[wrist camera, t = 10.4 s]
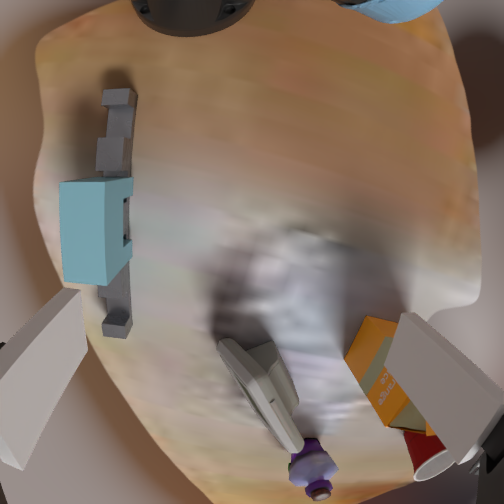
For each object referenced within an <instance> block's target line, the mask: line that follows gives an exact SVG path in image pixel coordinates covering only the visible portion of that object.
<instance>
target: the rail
mask: <svg viewBox="0 0 504 504" xmlns="http://www.w3.org/2000/svg"><path fill="white" fill-rule="evenodd" d="M137 99H138V95H137V94H136V93H135V92H134V91H132V90H131V89H130V88H124V89H107V90H103V96H102V103H101V106H104V107H106V108H108V109H109V113H108V122H107V132H106V137H105V138H98V140H97V152H96V168H95V171H104V173H103V177H130V174H131V158H132V146H133V134H134V124H135V115H136V107H137ZM123 239H129V197H127V198H124V199H123ZM97 286H98V297H105V298H106V302H107V312H108V315H107V316H106V318H105V319H104V321H103V322H102V331H103V336H106V337H114V338H122V339H126V338H127V336H128V334H129V332H130V330H131V327H132V325H133V323H132V310H131V294H130V273H129V261H128V262H127V263H126V264H125V266H124V267H123V268H122V269H121V270H120V271H119V272H118V274H117V275H116V276H115V277H114V278H113V279H112V281H111V282H110V283H109V284H108V285H107V286H102V285H97Z"/></svg>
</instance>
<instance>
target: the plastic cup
mask: <svg viewBox="0 0 504 504" xmlns="http://www.w3.org/2000/svg"><path fill="white" fill-rule="evenodd" d="M404 438H405V441H406V444H407V447H408V451H409V454H410V457H411V460H412V463H413V466H414V480H416V481H423V480H427V479H429V478H432V477H434V476H436V475H438V474H440V473H441V472H443V471H444V470H445V469H447V468H448V467H450V466H451V465H452V464H453V463H454V462H455V460H454V458H453V457H452V456H451V454H450V453H449V451H448V450H447V449H446V447H445V446H444V444H443V443H442V442H441V440H440V439H439V438H438V436H437V435H431V436H426V434H421V433H416V432H410V431H405V433H404Z"/></svg>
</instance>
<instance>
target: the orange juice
mask: <svg viewBox="0 0 504 504" xmlns="http://www.w3.org/2000/svg"><path fill="white" fill-rule="evenodd" d="M397 326H398V323H396V322H392V321H388V320H383V319H379V318H375V317H371V316H366V317H365V319H364V321H363V323H362V325H361V327H360V329H359V331H358V333H357V335H356V337H355V339H354V341H353V343H352V345H351V347H350V349H349V351H348V353H347V355H346V356H345V358H344V360H345V362H346V363H347V365H348V367H349V368H350V370H351V372H352V373H353V375H354V376H355V378H356V380H357V381H358V383H359V385H360V387H361V389H362V390H363V392H364V393H365V395H366V396H367V398H368V399H369V401H370V402H371V404H372V406H373V407H374V409H375V411H376V412H377V414H378V416H379V417H380V419H381V421H382V422H383V424H384V426H385V427H391V428H396V429H401V430H405V431H410V432H416V433H421V434H426V436H431V435H436V433H435V432H434V431H433V429H432V428H431V427H430V425H429V424H428V423H427V421H426V420H425V419H424V417H423V416H422V415H421V413H420V412H419V410H418V409H417V408H416V406H415V405H414V404H413V402H412V401H411V400H410V399H409V397H408V396H407V395H406V393H405V392H404V391H403V389H402V388H401V387H400V385H399V384H398V383H397V381H396V380H395V379H394V378H393V376H392V375H391V374H390V372H389V371H388V370H387V368H386V367H385V366H384V363H385V360H386V358H387V355H388V352H389V349H390V347H391V344H392V341H393V338H394V335H395V332H396V329H397Z"/></svg>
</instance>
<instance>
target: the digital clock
mask: <svg viewBox="0 0 504 504" xmlns="http://www.w3.org/2000/svg"><path fill="white" fill-rule="evenodd" d="M217 351H218V353H219V354H220V356H221V358H222V360H223V362H224V363H225V365H226V367H227V368H228V370H229V372H230V373H231V375H232V377H233V378H234V380H235V381H236V383H237V385H238V386H239V388H240V390H241V391H242V393H243V394H244V396H245V397H246V399H247V401H248V402H249V404H250V405H251V407H252V408H253V410H254V412H255V413H256V415H257V416H258V417H259V419H260V420H261V421H262V422H263V423H264V425H265V426H266V427H267V428H268V429H269V431H270V432H271V433H272V434H273V435H274V437H275V438H276V439H277V440H278V441H279V442H280V443H281V445H282V446H283V447H284V448H285V449H286V450H287V451H288V452H289V453H299V452H300V451H301V450H302V449H303V446H304V440H303V438H302V436H301V434H300V433H299V431H298V429H297V427H296V425H295V424H294V422H293V420H292V418H291V415H292V412H293V410H294V409H295V408H296V407H297V406H298V405H299V398H298V395H297V392H296V389H295V386H294V384H293V381H292V379H291V377H290V375H289V373H288V371H287V369H286V367H285V365H284V362H283V360H282V358H281V356H280V354H279V352H278V350H277V348H276V345H275V343H274V341H269V342H267V343H264V344H262V345H259V346H257V347H254V348H252V349H249V350H247V351H245V350H243V349H242V348H241V347H240V346H239V345H238V344H237V343H236V342H235V341H234V340H233V339H229V338H223V339H221V340H219V343H218V345H217Z"/></svg>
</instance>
